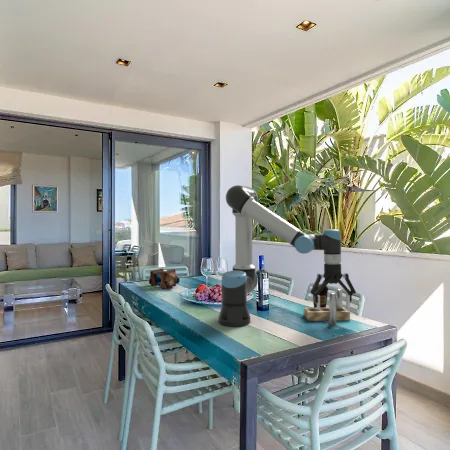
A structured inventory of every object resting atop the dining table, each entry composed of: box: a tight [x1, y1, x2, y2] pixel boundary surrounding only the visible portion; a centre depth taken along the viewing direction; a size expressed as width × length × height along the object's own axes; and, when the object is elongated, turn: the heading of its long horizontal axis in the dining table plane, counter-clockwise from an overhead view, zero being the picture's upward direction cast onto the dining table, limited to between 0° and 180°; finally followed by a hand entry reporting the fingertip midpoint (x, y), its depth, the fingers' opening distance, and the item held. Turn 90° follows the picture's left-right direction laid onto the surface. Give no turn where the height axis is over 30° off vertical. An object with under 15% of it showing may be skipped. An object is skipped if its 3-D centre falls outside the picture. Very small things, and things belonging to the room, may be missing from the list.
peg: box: [328, 292, 337, 326], centre depth 159 cm, size 3×3×14 cm
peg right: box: [335, 288, 343, 311], centre depth 168 cm, size 3×3×14 cm
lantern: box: [148, 268, 180, 289], centre depth 243 cm, size 16×16×25 cm
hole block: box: [303, 306, 351, 322], centre depth 168 cm, size 20×8×4 cm, turn 91°
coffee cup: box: [312, 283, 329, 308], centre depth 182 cm, size 9×8×13 cm
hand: (333, 309), depth 159 cm, fingers open, 13 cm apart
